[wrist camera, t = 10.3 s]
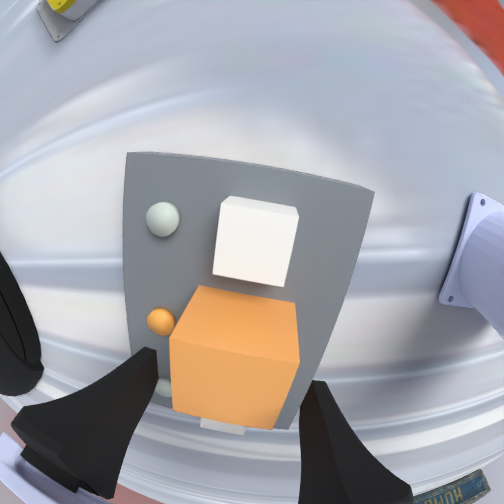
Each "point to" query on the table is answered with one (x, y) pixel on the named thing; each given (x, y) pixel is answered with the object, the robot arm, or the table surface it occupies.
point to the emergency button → (63, 15)
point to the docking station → (16, 339)
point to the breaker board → (198, 243)
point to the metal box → (457, 491)
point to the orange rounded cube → (234, 357)
